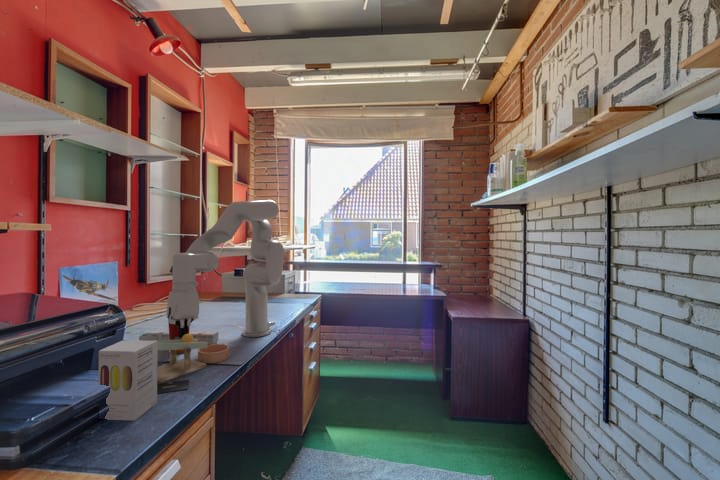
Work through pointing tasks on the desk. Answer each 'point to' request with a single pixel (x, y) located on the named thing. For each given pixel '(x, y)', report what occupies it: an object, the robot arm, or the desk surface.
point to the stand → (178, 366)
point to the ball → (187, 338)
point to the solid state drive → (172, 386)
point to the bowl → (213, 353)
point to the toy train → (200, 335)
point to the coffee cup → (174, 334)
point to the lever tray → (176, 347)
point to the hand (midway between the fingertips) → (183, 337)
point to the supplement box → (129, 378)
